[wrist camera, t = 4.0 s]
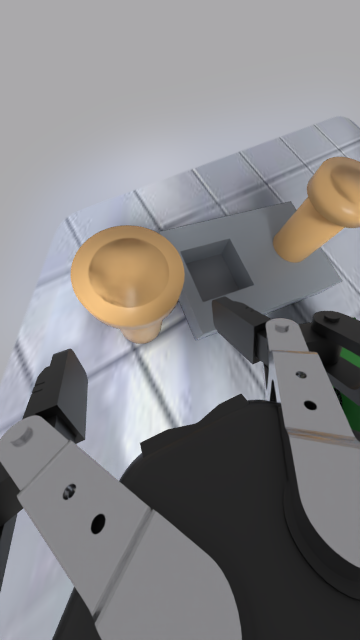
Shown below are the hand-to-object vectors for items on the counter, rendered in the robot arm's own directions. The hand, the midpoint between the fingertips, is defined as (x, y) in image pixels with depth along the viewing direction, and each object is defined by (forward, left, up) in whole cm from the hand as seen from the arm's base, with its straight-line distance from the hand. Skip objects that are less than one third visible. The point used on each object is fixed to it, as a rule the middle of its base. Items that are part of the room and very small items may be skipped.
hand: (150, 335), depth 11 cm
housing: (-13, -5, -8) cm, 16 cm away
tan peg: (0, -3, -8) cm, 9 cm away
